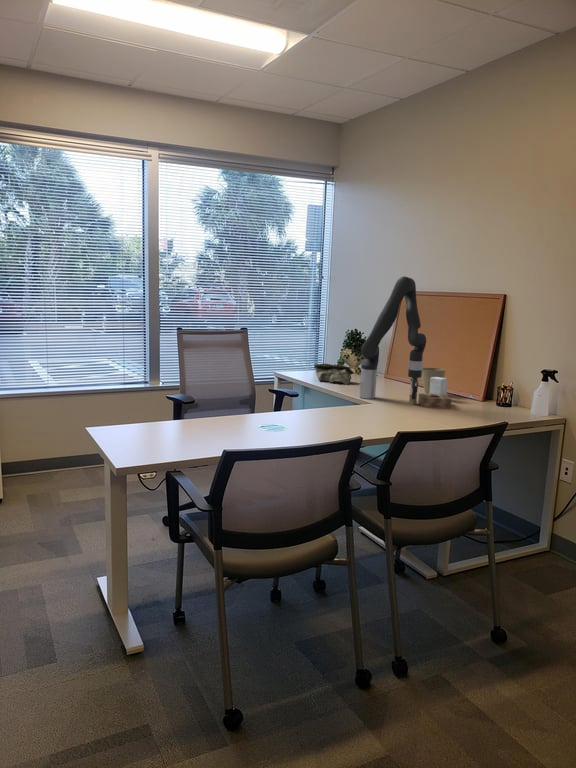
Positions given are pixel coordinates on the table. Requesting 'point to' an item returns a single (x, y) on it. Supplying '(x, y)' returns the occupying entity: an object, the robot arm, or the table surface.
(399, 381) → the table surface
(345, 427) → the table surface
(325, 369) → the mossy rock
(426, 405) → the walnut board
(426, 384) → the plant pot
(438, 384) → the small box
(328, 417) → the table surface
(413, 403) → the beech peg
